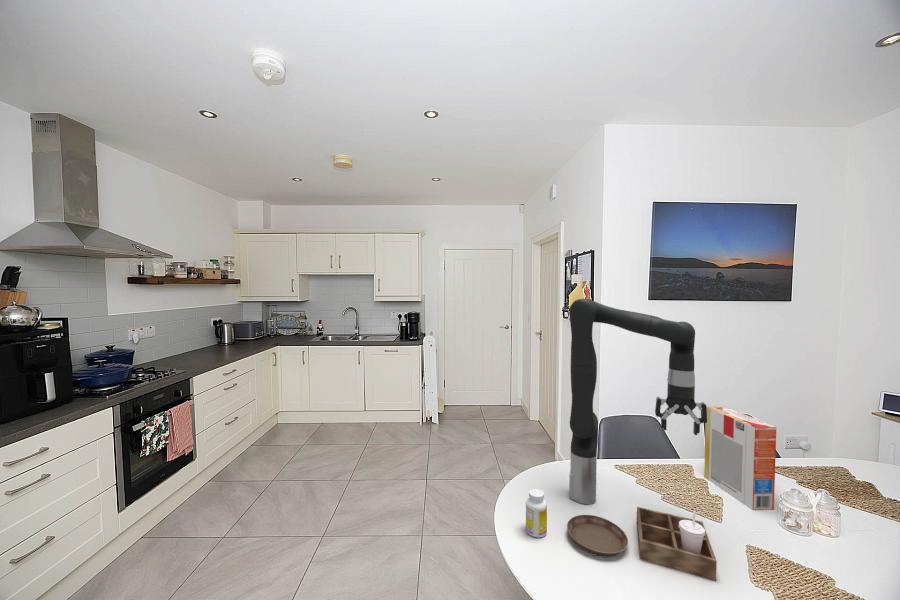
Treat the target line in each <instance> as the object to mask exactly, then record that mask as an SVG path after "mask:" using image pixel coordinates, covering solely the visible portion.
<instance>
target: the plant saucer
mask: <svg viewBox="0 0 900 600" xmlns="http://www.w3.org/2000/svg"><path fill="white" fill-rule="evenodd" d="M566 529H567V532H568V534H569V536H570V538H571V539H572V541H573V542H574V543H575V544H576V545H577V546H578V547H579V548H581V549H582V550H584V552H586V553H589V554H591V555H594V556H597V557H601V558H612V557H616V556H618V555H619V554H621V553H622V552H624V550H625V549H627V547H628V545H629V539H628V536H627V535H626V533H625V531H624V530H623V529H622V528H621V527H620V526H618V525H617V524H616V523H614V522H612V521H611V520H608V519H606V518H604V517H601V516H597V515H592V514H578V515H575V516H573V517H571V518H570V519H569V520H568V522H567V524H566Z"/></svg>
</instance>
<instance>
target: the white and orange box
mask: <svg viewBox="0 0 900 600" xmlns="http://www.w3.org/2000/svg"><path fill="white" fill-rule="evenodd" d="M704 428H705V430H704V431H705V432H704V434H705V435H704V440H705V441H704V468H703V469H704V470H703V473H704V474H703V475H704V476H703V477H704V479H706V480H707V481H709V482H710V483H712V484H713V485H715V486H717V487H718V488H719V489H721V490H722V491H723V492H725V493H727V494H728V495H729V496H731V497H733V498H734V499H735V500H737V501H738V502H739V503H741V504H742V505H744V506H746V507H747V508H748V509H750V510H751V511H771V510H772V511H774V510H775V491H776V490H775V487H776V485H775V484H776V458H777V457H776V456H777V455H776V453H777V450H776V449H777V426H774V425H772V424H769V423H767V422H765V421H762V420H760V419H757V418H755V417H752V416H750V415H746V414H744V413H741V412H739V411H736V410H734V409H731V408H729V407H727V406H723V405H722V406H707V423H705V427H704Z"/></svg>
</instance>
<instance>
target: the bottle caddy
mask: <svg viewBox="0 0 900 600" xmlns="http://www.w3.org/2000/svg"><path fill="white" fill-rule="evenodd" d="M681 520H690V521H693V518H688V517H683V516H681V515H674V514H670V513H667V512H662V511H658V510H653V509H649V508H644V507H640V506H636V531H637V533H636V534H637V544H638V546H637V547H638V557H639V558H638V559H639V560H640V561H645V562H648V563H652V564H655V565H658V566H661V567H662V566H663V567H665V568H669V569H673V570H676V571H680V572H684V573H686V574H691V575H694V576H697V577H701V578H704V579H708V580H711V581H716V582H717V566H718V565H717V562H718V561H717V559H716V556H715V553H714V550H713V547H712V544H711V542H710V538H709V536H708V533H707V531H706V528H705V525H704V522H703V521H700V520H697V519H695V522H696V523H698V524H700V525H701V526H702V527H703V528H704V529H705V536H703V542H702V547H701V553H700V555H699V554H695V553H691V552H687V551H683V549H682V540H681V532H680V528H679V521H681Z"/></svg>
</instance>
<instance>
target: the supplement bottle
mask: <svg viewBox="0 0 900 600" xmlns="http://www.w3.org/2000/svg"><path fill="white" fill-rule="evenodd" d="M544 498H545V493H544V491H543V490H541V489H537V488H533V489H530V490H529V491H528V498H527V499H526V501H525V531H526V533H527V534H528V535H529V536H530V537H532V538H533V537H534V538H544V537H545V536H546V535H547V533H548V532H547V531H548V508H547V507H548V503H547V501H546V500H545V499H544Z"/></svg>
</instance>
